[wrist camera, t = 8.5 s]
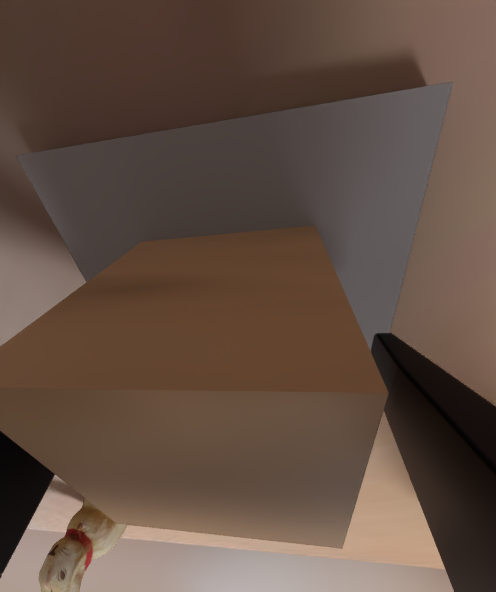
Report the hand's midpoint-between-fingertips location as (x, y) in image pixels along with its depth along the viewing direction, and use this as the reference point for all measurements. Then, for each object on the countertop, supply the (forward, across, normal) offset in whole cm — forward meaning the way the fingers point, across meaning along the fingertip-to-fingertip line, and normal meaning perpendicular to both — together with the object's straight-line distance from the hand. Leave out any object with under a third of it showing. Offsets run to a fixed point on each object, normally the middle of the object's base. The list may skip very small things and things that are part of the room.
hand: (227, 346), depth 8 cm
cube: (+2, 0, 0) cm, 2 cm away
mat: (+3, 0, 0) cm, 3 cm away
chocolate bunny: (+4, +21, +30) cm, 37 cm away
